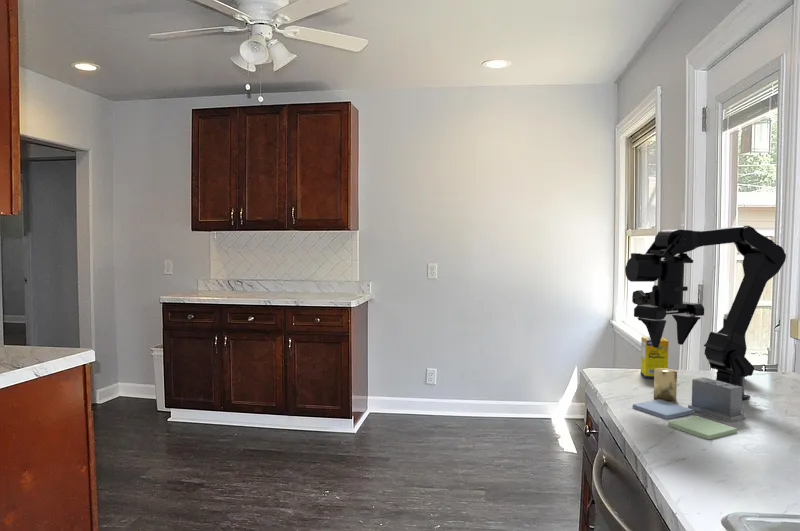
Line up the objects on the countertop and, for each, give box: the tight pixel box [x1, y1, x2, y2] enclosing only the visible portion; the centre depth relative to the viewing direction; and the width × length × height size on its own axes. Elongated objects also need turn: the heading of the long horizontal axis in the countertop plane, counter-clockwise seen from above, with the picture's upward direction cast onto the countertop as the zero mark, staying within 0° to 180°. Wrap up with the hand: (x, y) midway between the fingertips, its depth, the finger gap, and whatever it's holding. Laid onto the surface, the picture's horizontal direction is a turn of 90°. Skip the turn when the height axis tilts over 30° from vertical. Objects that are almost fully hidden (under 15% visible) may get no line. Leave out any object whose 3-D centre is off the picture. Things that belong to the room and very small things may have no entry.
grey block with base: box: [687, 377, 746, 423], centre depth 125 cm, size 5×10×7 cm, turn 27°
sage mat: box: [667, 415, 738, 440], centre depth 115 cm, size 9×9×1 cm
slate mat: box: [632, 399, 695, 420], centre depth 128 cm, size 9×9×1 cm
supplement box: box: [640, 336, 669, 380], centre depth 158 cm, size 6×6×11 cm
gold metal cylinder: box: [653, 368, 678, 403], centre depth 137 cm, size 5×5×7 cm
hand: (668, 346), depth 136 cm, fingers open, 9 cm apart
